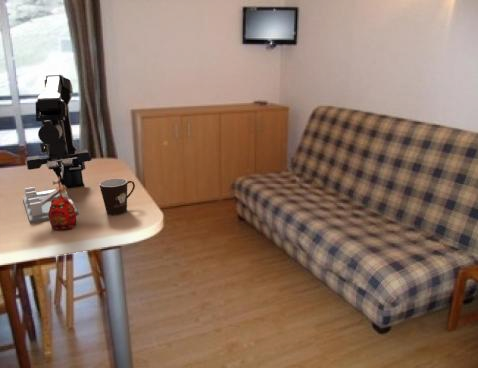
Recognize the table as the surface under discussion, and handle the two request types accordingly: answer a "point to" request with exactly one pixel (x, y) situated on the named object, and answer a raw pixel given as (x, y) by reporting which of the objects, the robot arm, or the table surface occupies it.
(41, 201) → the strap near
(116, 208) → the coffee mug
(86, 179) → the table surface
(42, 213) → the grey stepped panel
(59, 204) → the red clay folk toy
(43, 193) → the strap far
